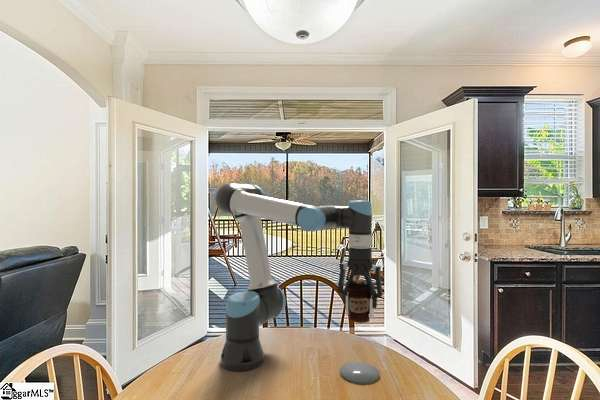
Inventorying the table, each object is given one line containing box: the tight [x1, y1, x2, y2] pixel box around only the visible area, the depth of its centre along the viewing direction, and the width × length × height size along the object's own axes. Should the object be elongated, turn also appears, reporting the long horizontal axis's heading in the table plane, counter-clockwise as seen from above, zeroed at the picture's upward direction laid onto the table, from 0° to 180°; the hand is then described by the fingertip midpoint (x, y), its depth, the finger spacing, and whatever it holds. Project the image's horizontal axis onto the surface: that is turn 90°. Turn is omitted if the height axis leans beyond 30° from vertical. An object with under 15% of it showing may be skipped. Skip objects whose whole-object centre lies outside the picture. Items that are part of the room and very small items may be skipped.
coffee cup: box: [348, 279, 372, 324], centre depth 116 cm, size 9×8×13 cm
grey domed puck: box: [339, 361, 380, 385], centre depth 116 cm, size 13×13×1 cm
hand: (359, 315), depth 116 cm, fingers closed on coffee cup, 7 cm apart
